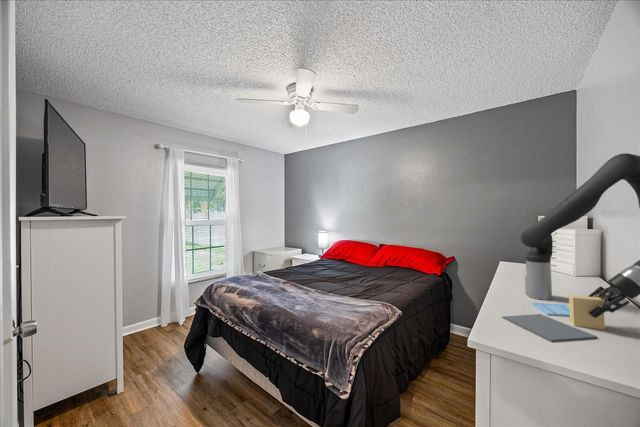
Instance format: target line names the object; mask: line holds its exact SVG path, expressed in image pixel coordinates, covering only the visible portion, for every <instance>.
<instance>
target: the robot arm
mask: <svg viewBox="0 0 640 427" xmlns="http://www.w3.org/2000/svg"><path fill="white" fill-rule="evenodd" d="M620 181H625V182H626V183H628V184H629V186H630V187H631V188H632V189H633V190H634V193H635V194H636V197H637V202H638V207H639V209H640V155H636V154H632V153H619V154H617V155H614V156H613V157H611V158H610V159H608V160H607V161H606V162H605V163H603V165H602V166H601V167H600V168H598V170H597V171H596V172H595V173H594V174H593V175H592V176H591V177H590V178H589V179H588V180H587V181H585V182H584V183H583V184H581V185H580V186H579V187H578V188H576V189H575V191H573V192H572V193H571V194H569V195H568V196H567V197H566V198H564V199H563V200H562V201H560V202H559V203H558V204H557V205H556V206H555V207H553V209H551V210H550V211H549V212H548V213H547V214H545V215H544V216H543V217H542V218H541V219H540V220H538V221H537V222H536V223H534V224H532V225H531V226H529V227H528V228H526V229H525V230H523V231H522V233H521V235H520V241H521V242H522V244H523V245H524V246H526V247H529V248H530V249H529V252H528V253H526V255H525V270H526V274H525V275H524V287H525V288H524V290H525V295H526V296H527V297H529V298H531V299H537V300H544V301H545V300H546V301H548V300H549V301H550V300H552V299H553V291H552V290H553V288H552V287H553V286H552V285H553V284H552V264H551V260H552V256H553V246H554V244H553V235H552V234H553V233H555V231H557V230H560V229H562V228H565V227H566V226H569V225H570V224H573V223H575V222H577V221H579V220H580V219H582V218H583V217H584V216H586V215H587V214H588V213H590V212H591V211H592V210H594V208H595V207H596V205H598V203H599V201H600V200H601V197H602V195H604V193H605V192H607V190H608V189H609V188H611V187H612V186H614V185H615V184H617V183H619V182H620ZM607 284H609V285H610V286H608V287H606V288H604V287H603V286H599V287H597V288H596V289H595V290H594V291H592V292H591V293H590V294H589V295H587V297H598V298H600V299H602V303H601V304H600V305H599V306H597V307H596V308H594V309H593V310H591V311H590V312H589V314H590V315H591V316H593V317H594V318H597V317H598V316H600V315H601V314H603V313H604V314H605V313H608V312H610V313H611V314H613V313H614V312H616V311H618V310H620V309H622V308H623V307H625V306H627V305H629V304H630V301H629V300H628V299H632V300H633V299H635V298H637V297H639V296H640V259H639V260H637V261H635V262H634V263H633V264H632V265H630V266H627V267H626V268H624V269H623V270H621V271H620V272H618V273H617V274H616V275H614V276H613V277H611V278H610V279H608V280H607ZM627 298H628V299H627Z"/></svg>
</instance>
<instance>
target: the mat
mask: <svg viewBox="0 0 640 427" xmlns="http://www.w3.org/2000/svg"><path fill="white" fill-rule="evenodd" d="M501 318H502V319H503V318H504V320H505V319H506V320H505V321H507V320H508V322H509V321H510V323H512V324H513V325H516V326H517V327H520V328H522V329H524V330H525V331H528V332H530V333H532V334H534V335H537V336H538V337H541V338H542V339H543V340H544V339H545V340H546V341H547V342H564V341H565V342H567V341H581V340H595V339H598V336H597V335H594V334H592V333H589V332H587V331H584V330H582V329H579V328H577V327H575V326H572V325H569V324H568V323H564V322H563V321H559V320H556V319H554V318H551V317H549V316H548V315H544V314H541V313H538V314H534V313H533V314H520V315H505V316H504V315H503V316H502V317H501Z"/></svg>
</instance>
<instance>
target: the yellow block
mask: <svg viewBox="0 0 640 427" xmlns="http://www.w3.org/2000/svg"><path fill="white" fill-rule="evenodd" d="M601 303H602V299H600V298H598V297H588V295H586V296H584V295H572V294H571V295H570V294H569V295H568V304H569V305H568V307H569V309H570V317H569V322H570V323H571V325H573V327H581V328H589V329H595V330H596V329H599V330H606V326H605V325H606V322H605V312H604V313H603V314H601V315H600V316H598V317H597V318H594V317H593V316H591V315H590V314H589V312H590V311H591V310H593V309H594V308H596V307H597V306H599V305H600V304H601Z"/></svg>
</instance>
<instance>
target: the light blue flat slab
mask: <svg viewBox="0 0 640 427" xmlns="http://www.w3.org/2000/svg"><path fill="white" fill-rule="evenodd" d="M531 305H532V306H533V307H535V309H537V310H539V311H541V312H542V313H543V314H545V316H550V317H551V316H555V317H565V318H566V317H568V318H570V309H569V305H566V304H559V303H543V302H542V303H540V302H531Z"/></svg>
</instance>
